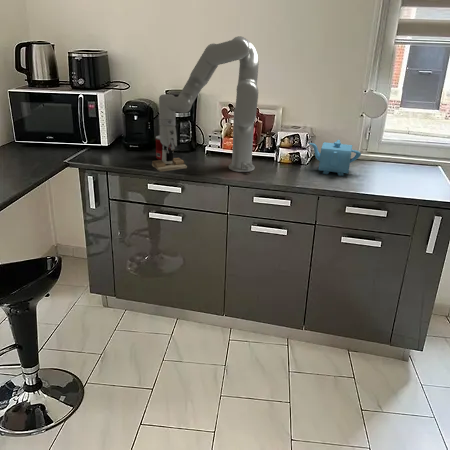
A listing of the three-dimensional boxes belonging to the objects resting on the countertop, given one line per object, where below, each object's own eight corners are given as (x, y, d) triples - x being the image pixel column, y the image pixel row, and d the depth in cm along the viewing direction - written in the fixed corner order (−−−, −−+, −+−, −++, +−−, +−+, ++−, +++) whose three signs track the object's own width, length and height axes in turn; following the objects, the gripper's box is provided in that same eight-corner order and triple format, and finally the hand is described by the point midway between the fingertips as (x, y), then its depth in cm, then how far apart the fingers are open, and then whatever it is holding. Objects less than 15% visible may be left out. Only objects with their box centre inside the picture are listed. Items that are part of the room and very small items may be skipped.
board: (187, 168, 234) (187, 163, 233) (160, 171, 228) (159, 166, 227) (178, 162, 242) (178, 157, 241) (152, 165, 236) (152, 160, 235)
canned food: (170, 160, 244) (170, 139, 239) (155, 160, 244) (154, 138, 239) (172, 156, 251) (172, 135, 246) (157, 155, 251) (156, 134, 246)
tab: (172, 163, 235) (173, 150, 232) (164, 163, 233) (165, 150, 230) (169, 161, 238) (170, 148, 235) (161, 161, 236) (162, 148, 233)
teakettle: (360, 175, 234) (365, 145, 228) (331, 180, 225) (335, 149, 219) (334, 164, 248) (338, 135, 242) (305, 168, 240) (308, 139, 234)
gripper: (182, 125, 223) (182, 163, 230) (167, 117, 235) (168, 154, 243) (167, 126, 219) (167, 165, 227) (153, 118, 232) (154, 155, 240)
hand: (167, 159), depth 235 cm, fingers closed on tab, 3 cm apart
